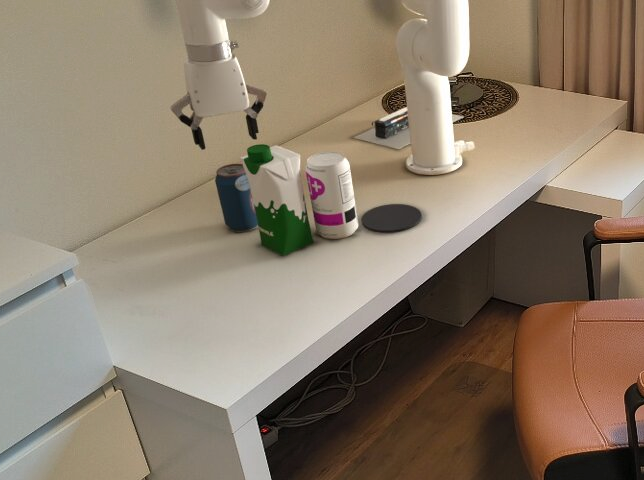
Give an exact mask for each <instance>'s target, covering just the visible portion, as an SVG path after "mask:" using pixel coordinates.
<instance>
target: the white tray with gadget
mask: <svg viewBox="0 0 644 480" xmlns="http://www.w3.org/2000/svg"><path fill="white" fill-rule="evenodd" d="M463 118H465V116H463V115H459V114H454V113H452V124H453V123H454V122H457V121H459V120H460V119H463ZM371 126H374V127H373V128H371V129H369V130H366V131H364V132H362V133H360V134H358V135H356V136H353V137H352V138H353V139H357V140H361V141H364V142H369V143H373V144H377V145H379V146H380V145H381V146H383V147H388V148H391V149H395V150H400V149H402V148H404V147H406V146H408V145H411V139H410V130H409V121H408V111H407V106H405V107H403V108H400V109H398V110H396V111H394V112H392V113H390V114H387V115H385V116H383V117H380V118H379V119H377V120H375V121H372V122H371Z"/></svg>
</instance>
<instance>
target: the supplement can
mask: <svg viewBox="0 0 644 480" xmlns="http://www.w3.org/2000/svg"><path fill="white" fill-rule="evenodd" d="M306 161H307V162H306V164H305V167H304V170H305V176H306V180H307V187H308V193H309V197H310V204H311V209H312V215H313V221H314V227H315V232H316V233H317V234H318V235H319V236H321V237H322V238H324V239H329V240H338V239H339V240H340V239H344V238H347V237H349V236H352V235H353V234H354V233H356V230H358V228H359V219H358V213H357V206H356V200H355V194H354V193H355V192H354V187H353V181H352V180H353V179H352V172H351V166H350V162H349V161H348V159H347V158H346V156H345V154H343V153H341V152H338V151H323V152H318V153H315V154H312V155H311V156H309V157H308V158H307V160H306Z"/></svg>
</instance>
